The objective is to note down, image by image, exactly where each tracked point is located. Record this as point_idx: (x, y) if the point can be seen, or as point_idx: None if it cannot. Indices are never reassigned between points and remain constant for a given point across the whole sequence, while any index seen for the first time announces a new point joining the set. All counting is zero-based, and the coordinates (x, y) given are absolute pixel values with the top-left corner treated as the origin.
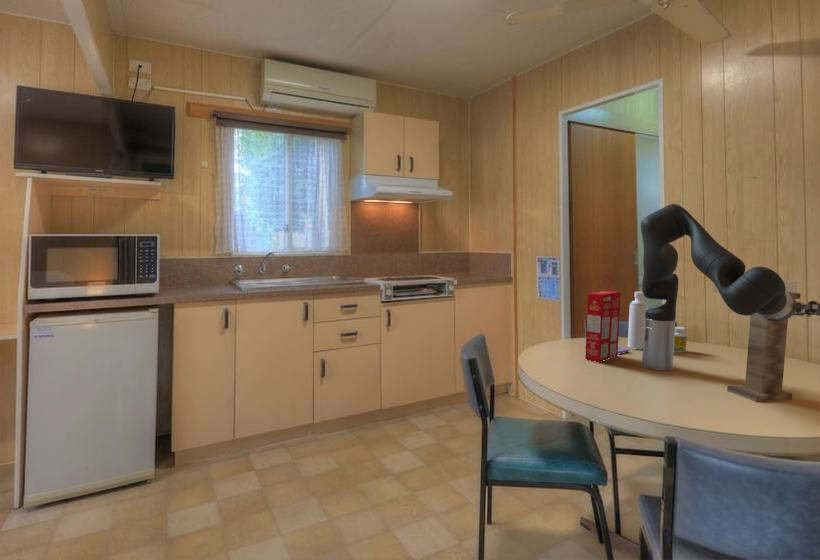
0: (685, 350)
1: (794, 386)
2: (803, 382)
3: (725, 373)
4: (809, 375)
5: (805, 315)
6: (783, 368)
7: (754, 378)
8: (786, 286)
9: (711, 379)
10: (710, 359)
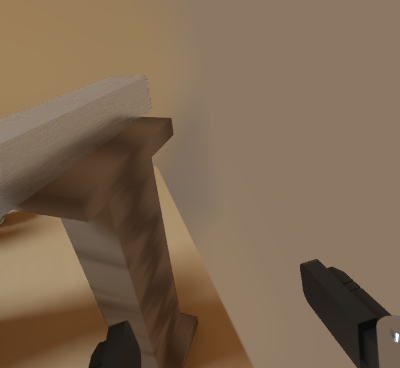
0: (3, 218)
1: (173, 251)
2: (173, 225)
3: (74, 275)
4: (167, 196)
5: (344, 349)
6: (175, 289)
7: None
8: (129, 102)
9: (53, 339)
10: (45, 225)
